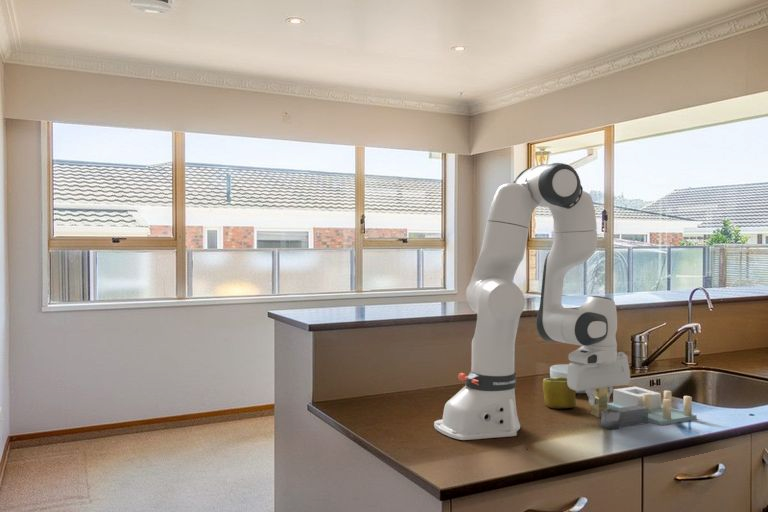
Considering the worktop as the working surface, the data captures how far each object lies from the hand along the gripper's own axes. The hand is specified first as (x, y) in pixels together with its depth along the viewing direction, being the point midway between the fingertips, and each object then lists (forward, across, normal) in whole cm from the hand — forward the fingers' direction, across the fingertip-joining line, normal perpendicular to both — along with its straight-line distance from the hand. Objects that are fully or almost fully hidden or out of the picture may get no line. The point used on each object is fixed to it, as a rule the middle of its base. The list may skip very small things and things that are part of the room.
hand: (599, 403), depth 163 cm
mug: (+4, +3, -13) cm, 14 cm away
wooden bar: (+3, 0, 0) cm, 3 cm away
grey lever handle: (+3, 0, +9) cm, 10 cm away
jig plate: (+3, -15, +4) cm, 16 cm away
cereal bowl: (+4, -14, -24) cm, 28 cm away
